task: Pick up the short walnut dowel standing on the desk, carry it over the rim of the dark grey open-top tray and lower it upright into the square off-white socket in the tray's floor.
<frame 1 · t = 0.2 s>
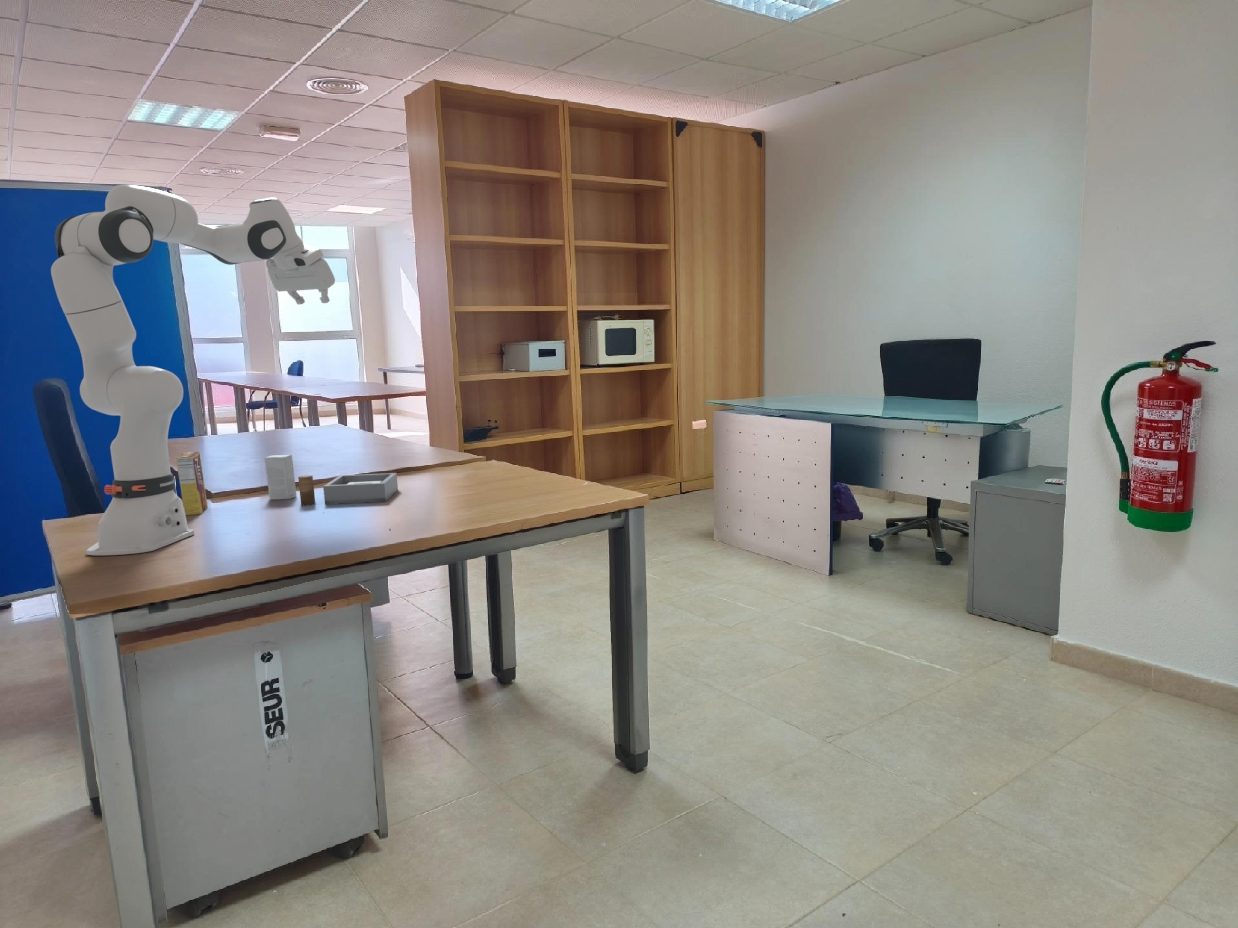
hand: (313, 303, 223), 54 cm above the table, tool tilted 30°, fingers open, 8 cm apart
skincare box: (283, 498, 223), on the table
peg: (308, 503, 213), on the table
tray: (362, 496, 220), on the table
candy box: (195, 512, 209), on the table
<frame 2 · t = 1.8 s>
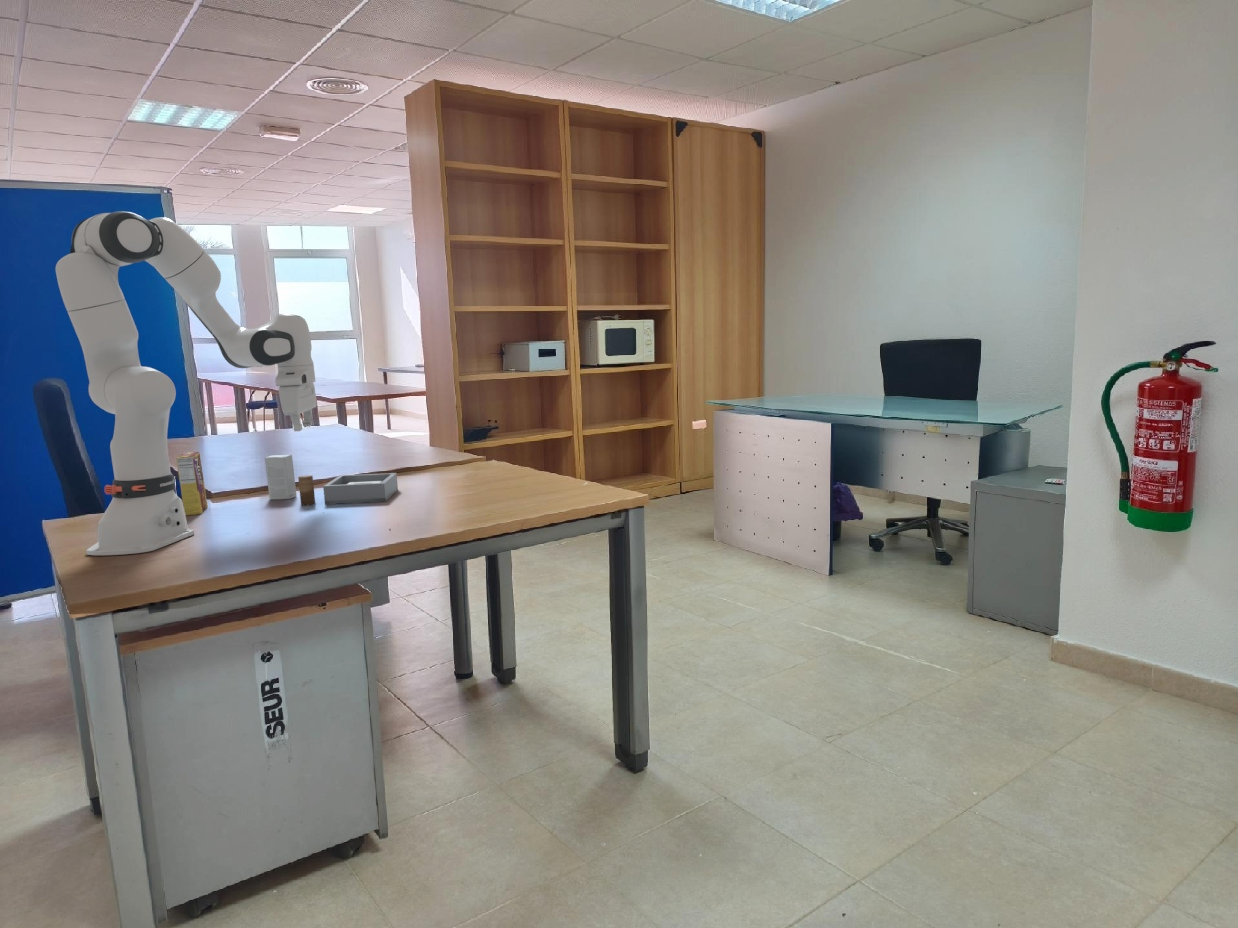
hand: (303, 428, 211), 20 cm above the table, tool pointing down, fingers open, 8 cm apart
nothing on the table moved.
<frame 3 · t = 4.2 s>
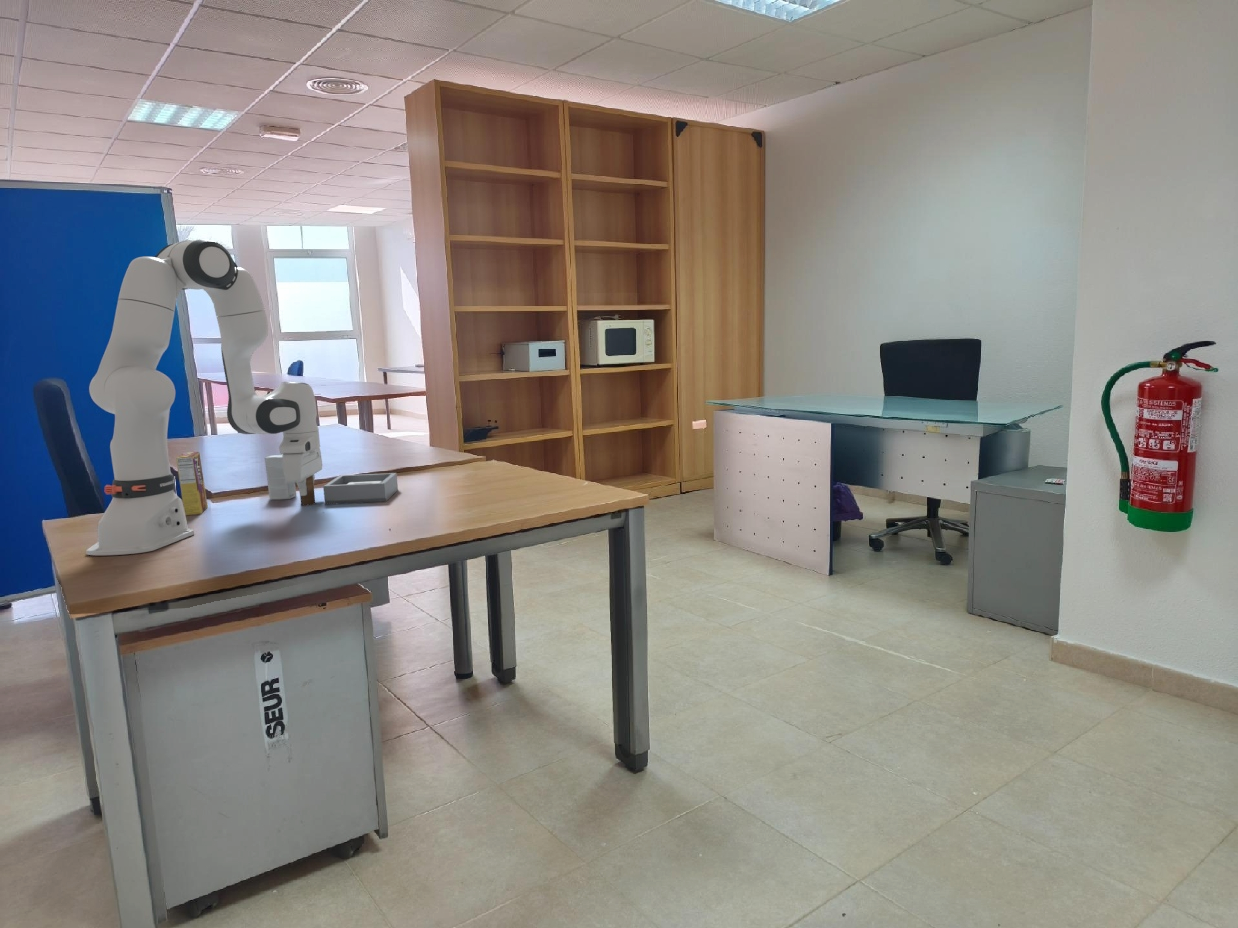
hand: (307, 493, 213), 3 cm above the table, tool pointing down, fingers closed on peg, 4 cm apart
peg: (308, 503, 213), on the table, touching gripper
everything else where it was.
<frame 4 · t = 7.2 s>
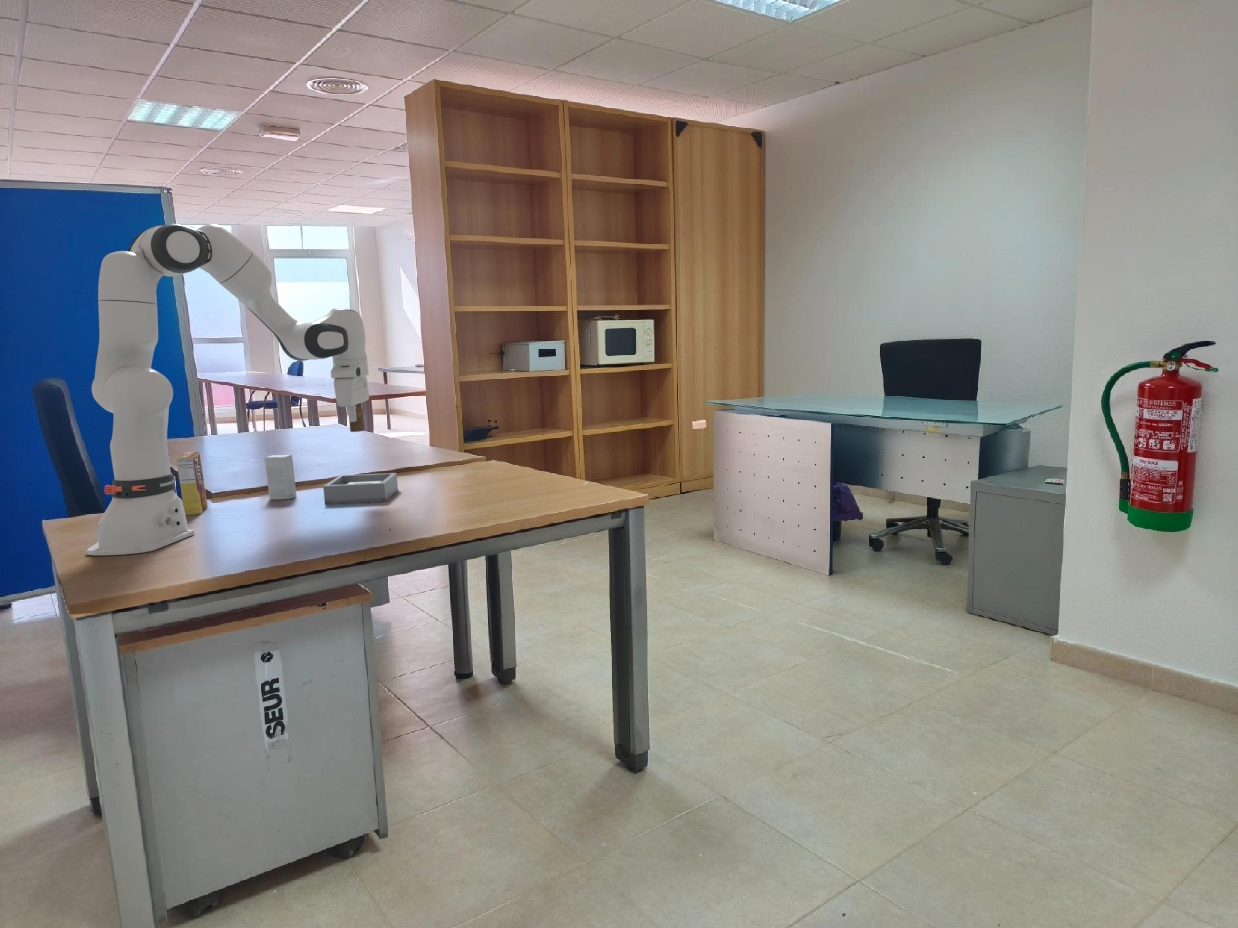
hand: (356, 420, 217), 21 cm above the table, tool pointing down, fingers closed on peg, 4 cm apart
peg: (357, 431, 217), point 18 cm above the table, touching gripper
everything else where it was.
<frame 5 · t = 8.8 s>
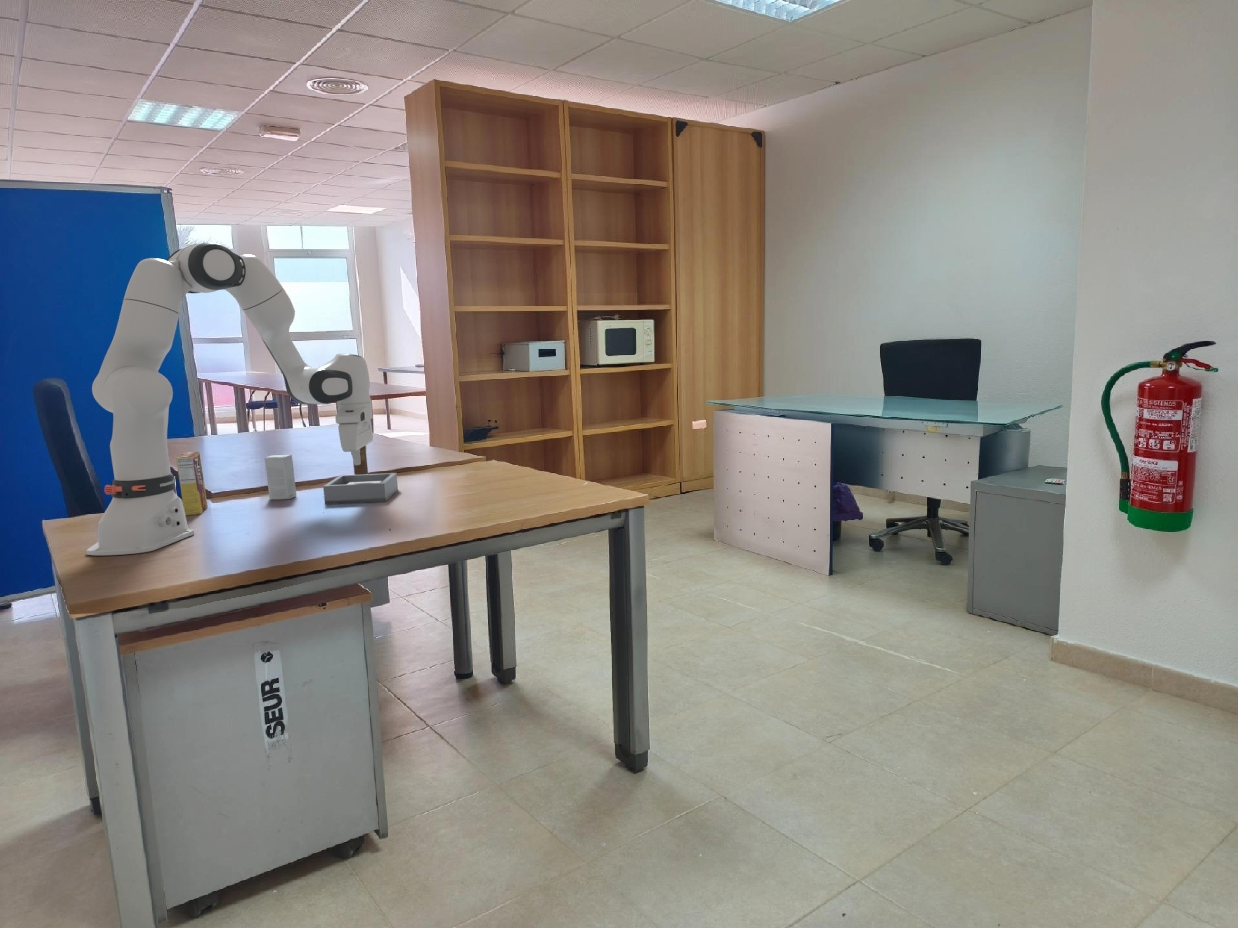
hand: (360, 463, 219), 9 cm above the table, tool pointing down, fingers closed on peg, 4 cm apart
peg: (361, 473, 219), point 7 cm above the table, touching gripper
everything else where it was.
when the fingers open (5 cm above the table, at t = 9.9 s): peg drops 1 cm, resting on tray.
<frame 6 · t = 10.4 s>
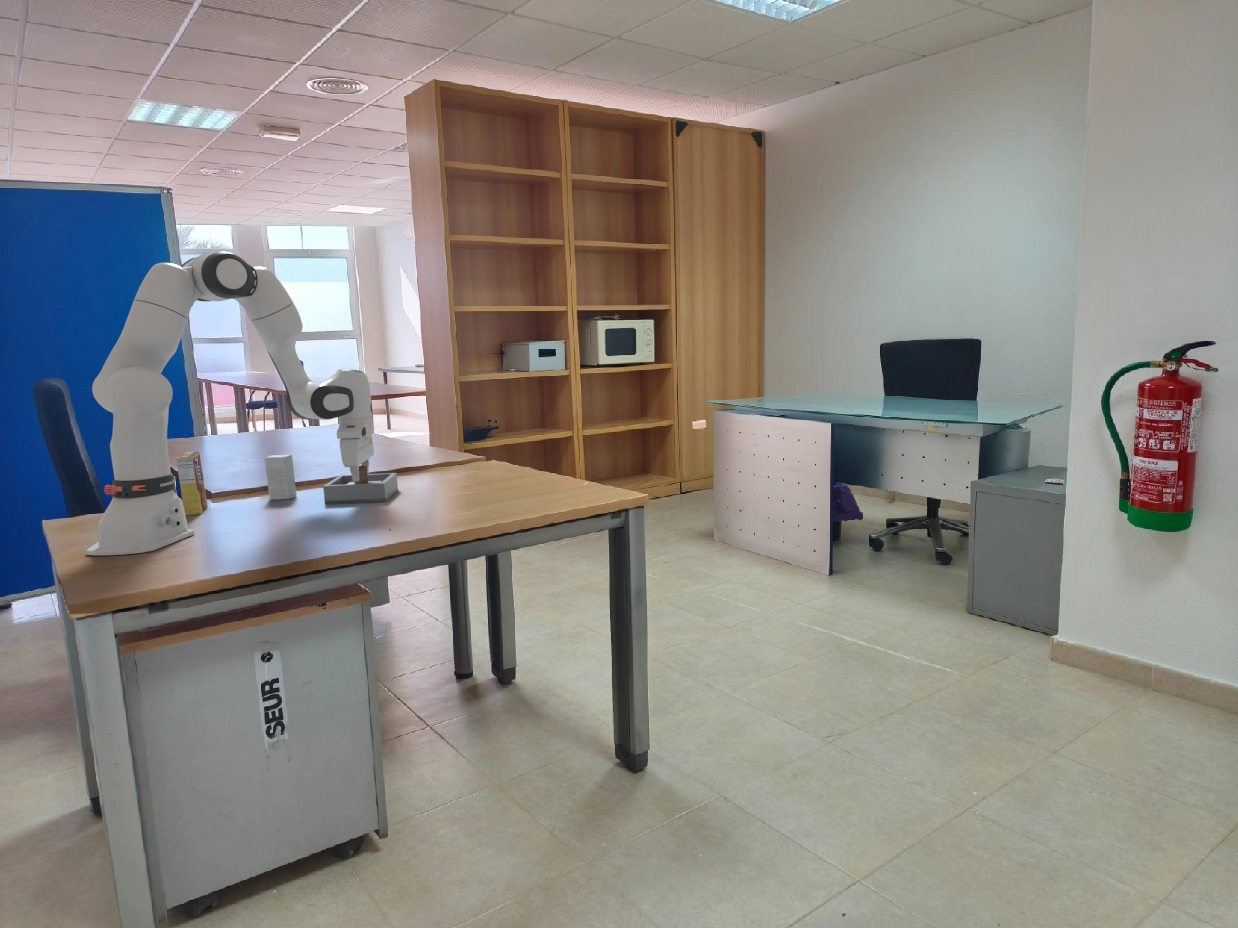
hand: (361, 478, 219), 5 cm above the table, tool pointing down, fingers open, 8 cm apart
peg: (362, 493, 220), point 1 cm above the table, touching tray
everything else where it was.
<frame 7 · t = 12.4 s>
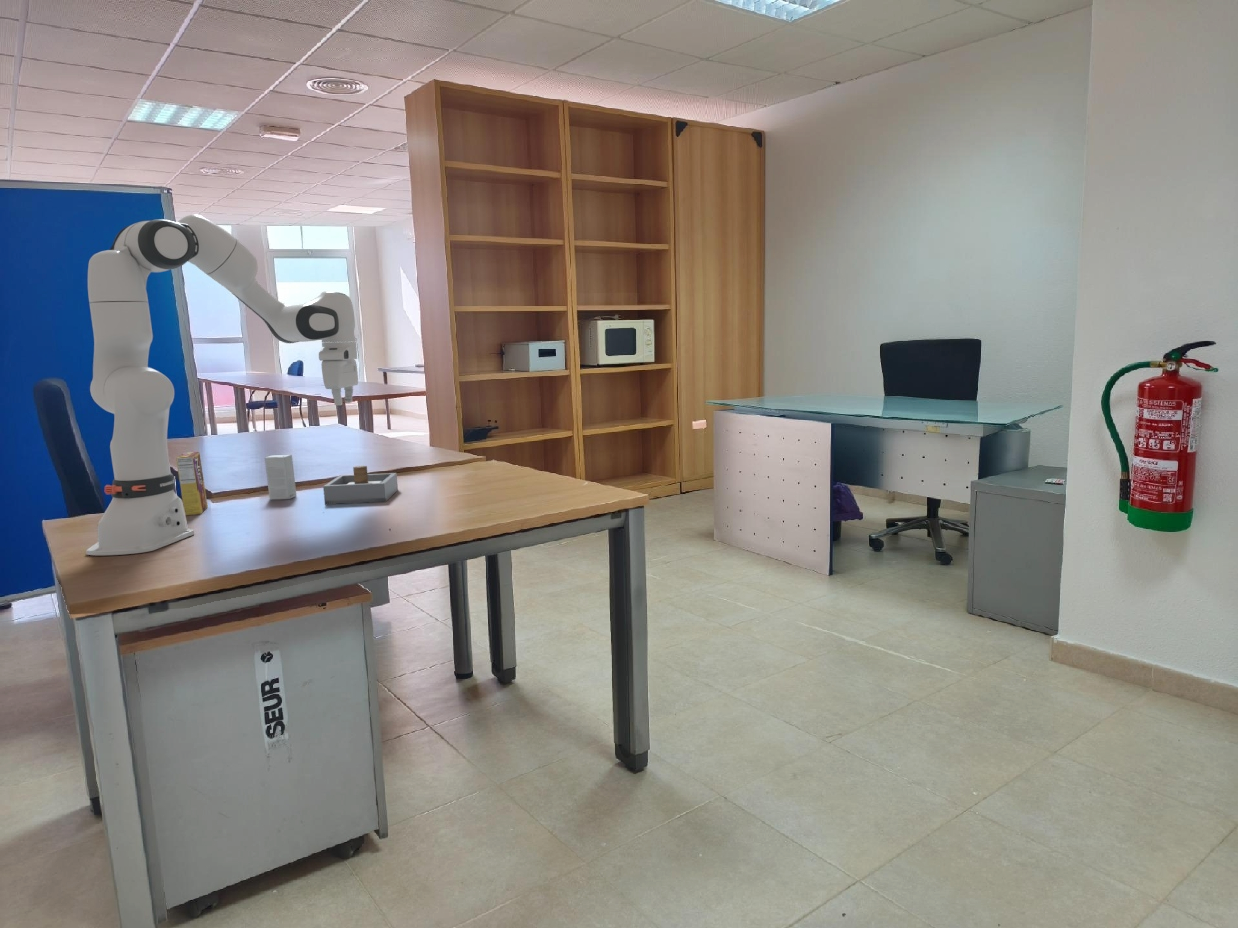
hand: (343, 404, 217), 26 cm above the table, tool pointing down, fingers open, 8 cm apart
nothing on the table moved.
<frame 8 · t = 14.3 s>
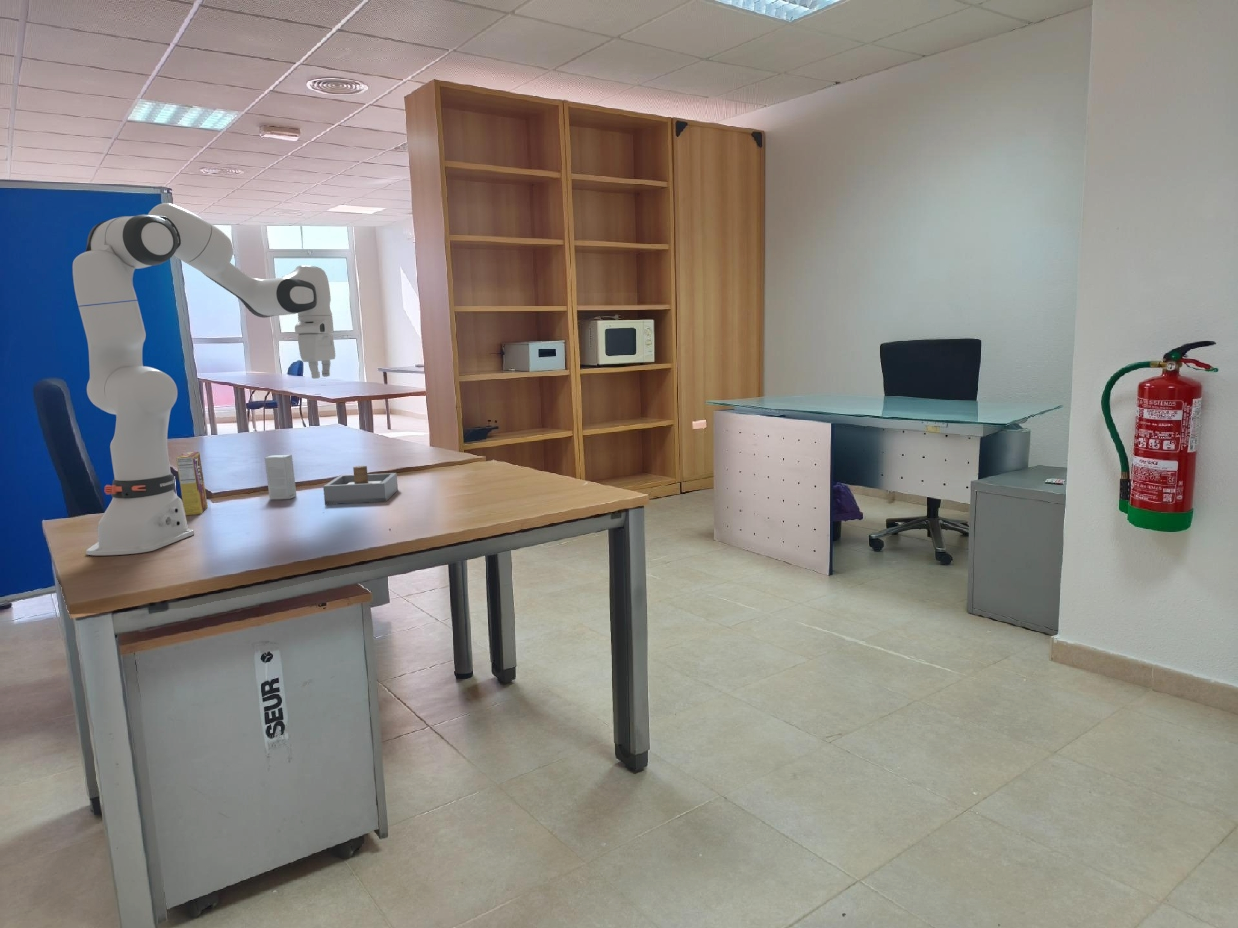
hand: (321, 377, 220), 33 cm above the table, tool pointing down, fingers open, 8 cm apart
nothing on the table moved.
at the end: peg 0.1 cm off-centre on the tray, point 1.0 cm above the tray's base; peg tilted 0°; the gripper is holding nothing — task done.
